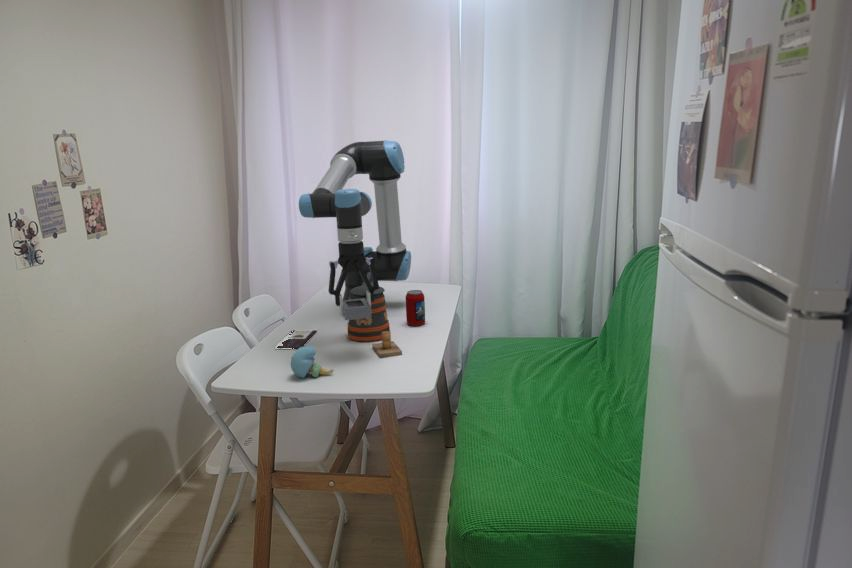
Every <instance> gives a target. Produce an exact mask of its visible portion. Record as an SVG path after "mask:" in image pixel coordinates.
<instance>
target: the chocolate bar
mask: <svg viewBox="0 0 852 568" xmlns="http://www.w3.org/2000/svg"><path fill="white" fill-rule="evenodd" d="M292 330H293V329H292ZM292 330H291V331H290V332H291V333H292V334H289V333H288V334H289V335H292V336H291V337H288V338H290V339H288V340H286V341H284V342H282V344H283V346H278V347H277V348H292V349H293V348H294V349H299V348H300V347H304V346H305V345H306V344H307V343H308V342H309V341H310V340H311V339H312V338H313V337H314V336H315V334H317V332H318V330H314V329H310V330H307V329H305V330H299V329H298V330H295V329H294V330H293V332H292ZM291 338H292V339H291ZM310 338H311V339H310ZM309 339H310V340H309ZM308 340H309V341H308ZM307 341H308V342H307ZM306 342H307V343H306ZM305 343H306V344H305ZM304 344H305V345H304Z"/></svg>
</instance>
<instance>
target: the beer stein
mask: <svg viewBox="0 0 852 568" xmlns="http://www.w3.org/2000/svg"><path fill="white" fill-rule="evenodd" d="M367 278H368V280H369V282H370V284H371V286H373V281H372V279H371V273H370V272H368V273H367ZM366 291H369V290H368V288H367V286H366V284H365V282H364V283H363V284H362V286H358V287H355V288H353V289H352V290H351V291H350V296H349V300H353V299H362V298H365V300H366V301H367V297H366ZM385 291H386V290H385V288H383V287H382V286H380V285H379V289H377V290H375V291H374V302H371V312H372V313H371V316H372V317H370V318H362V319H354V320H348V322H347V338H349V340H352V341H354V342H358V343H359V342H360V343H370V342H376V341H377V342H378V341H382V332H384V331H389V332H390V333H391V329H390V321H389V319H388V314H387V303H386V302H387V301H386V299H385V298H386V297H385V294H384V292H385Z"/></svg>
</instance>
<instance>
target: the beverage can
mask: <svg viewBox="0 0 852 568" xmlns="http://www.w3.org/2000/svg"><path fill="white" fill-rule="evenodd" d="M425 304H426V303H425V295H424V293H423V290H419V289H411V290H408V291H407V292H406V294H405V313H406V314H405V315H406V316H405V317H406V323H407V324H408V325H410V326H411V327H418V326H419V325H420V326H422V325H423V324H425V323H426V308H425V307H426V305H425Z"/></svg>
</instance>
